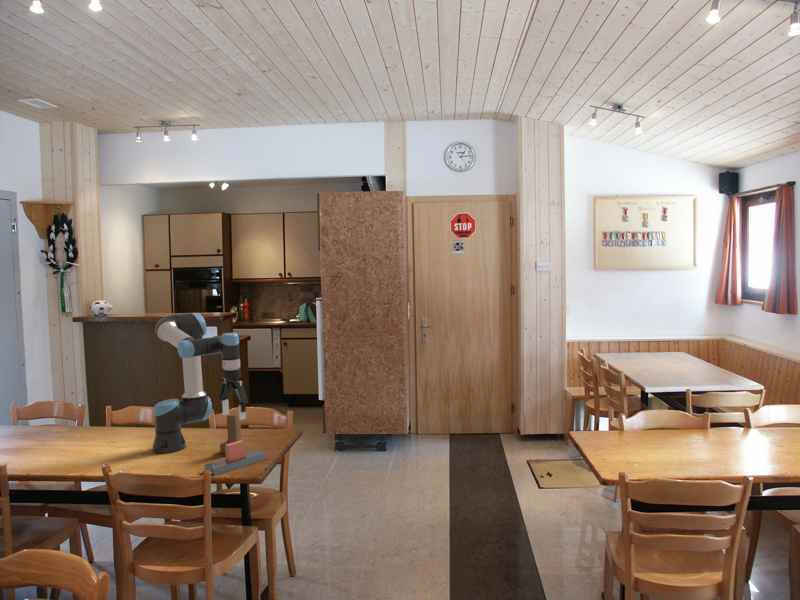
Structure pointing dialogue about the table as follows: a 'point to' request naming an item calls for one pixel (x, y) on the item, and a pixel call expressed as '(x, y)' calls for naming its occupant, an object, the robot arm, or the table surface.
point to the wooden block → (232, 431)
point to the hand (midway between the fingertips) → (234, 416)
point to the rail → (235, 462)
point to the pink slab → (235, 450)
